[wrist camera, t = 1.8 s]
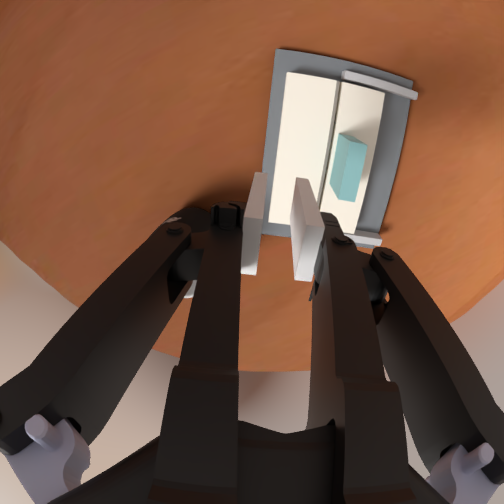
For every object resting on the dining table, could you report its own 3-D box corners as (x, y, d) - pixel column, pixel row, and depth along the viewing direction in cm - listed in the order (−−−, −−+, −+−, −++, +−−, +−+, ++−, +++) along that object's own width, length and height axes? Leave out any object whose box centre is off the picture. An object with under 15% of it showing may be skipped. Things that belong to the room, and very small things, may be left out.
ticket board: (275, 50, 26) (275, 45, 23) (409, 81, 26) (422, 81, 23) (255, 228, 39) (253, 242, 36) (371, 244, 39) (378, 258, 36)
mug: (196, 185, 36) (171, 217, 28) (240, 232, 40) (229, 276, 31) (143, 234, 41) (113, 273, 33) (183, 273, 44) (164, 318, 36)
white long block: (338, 82, 27) (355, 79, 20) (378, 92, 27) (403, 94, 20) (314, 221, 36) (322, 250, 30) (350, 226, 36) (364, 255, 30)
